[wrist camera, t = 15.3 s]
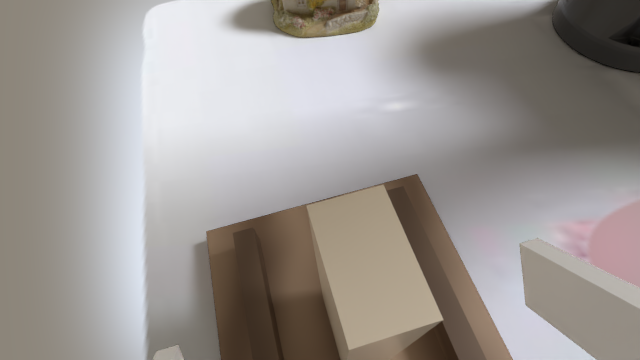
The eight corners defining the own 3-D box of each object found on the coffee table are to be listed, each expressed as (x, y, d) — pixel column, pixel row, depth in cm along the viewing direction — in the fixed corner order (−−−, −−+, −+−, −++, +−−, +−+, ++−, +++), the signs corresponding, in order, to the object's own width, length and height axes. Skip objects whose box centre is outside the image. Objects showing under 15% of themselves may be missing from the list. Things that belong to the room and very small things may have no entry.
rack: (413, 183, 31) (423, 156, 28) (553, 460, 21) (594, 472, 17) (212, 238, 29) (195, 217, 26) (253, 573, 19) (234, 612, 15)
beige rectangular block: (363, 284, 25) (383, 184, 13) (389, 360, 22) (443, 319, 11) (322, 297, 25) (306, 205, 13) (344, 374, 22) (348, 350, 10)
